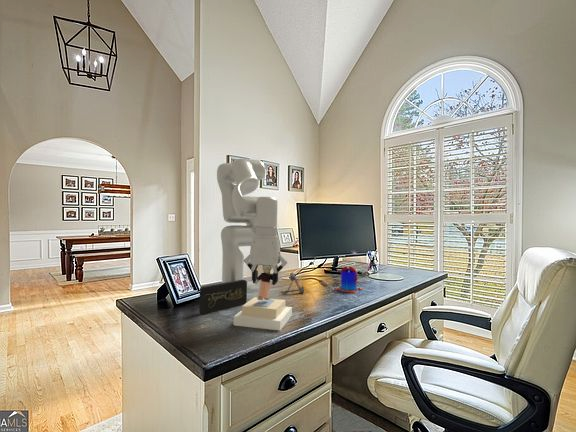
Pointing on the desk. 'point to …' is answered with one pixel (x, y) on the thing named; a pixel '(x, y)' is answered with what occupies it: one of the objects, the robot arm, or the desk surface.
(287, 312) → the plinth
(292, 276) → the portable electronic device stand
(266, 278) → the grandmother figurine
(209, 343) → the desk surface
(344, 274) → the fantasy tower
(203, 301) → the nameplate
